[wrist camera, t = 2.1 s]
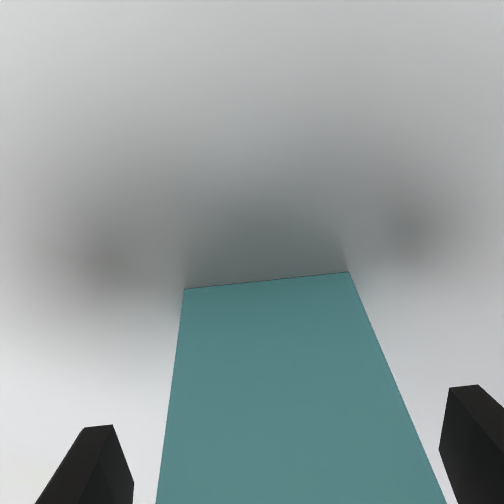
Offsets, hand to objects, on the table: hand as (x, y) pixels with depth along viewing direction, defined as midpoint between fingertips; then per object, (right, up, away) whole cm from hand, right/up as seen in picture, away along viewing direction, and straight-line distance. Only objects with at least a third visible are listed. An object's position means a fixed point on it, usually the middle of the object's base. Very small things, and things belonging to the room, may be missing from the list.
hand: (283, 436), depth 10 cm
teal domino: (0, +2, +4) cm, 5 cm away
